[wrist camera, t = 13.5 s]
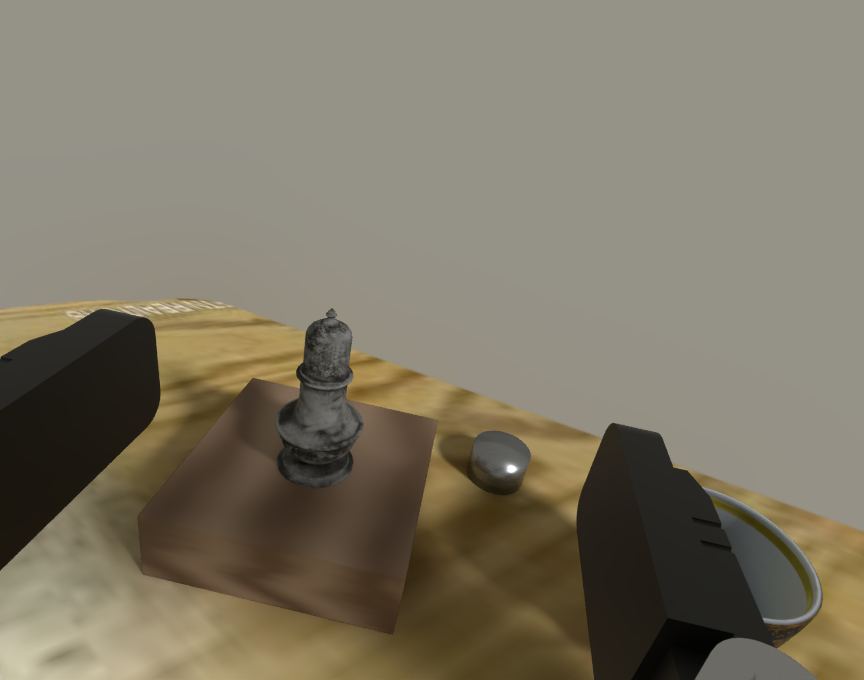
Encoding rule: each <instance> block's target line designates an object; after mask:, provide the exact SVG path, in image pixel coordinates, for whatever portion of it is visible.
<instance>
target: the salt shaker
mask: <svg viewBox="0 0 864 680" xmlns="http://www.w3.org/2000/svg"><path fill="white" fill-rule="evenodd" d="M326 316H328V318H325V319H321V320H318V321H315V322H313V323H312V324H311V325H310V326H309V327H308V329H307V331H306V337H305V349H304V360H303V363H302V364H301V365H300V366H298V368H297V370H296V374H297V377H298V379H299V380H300V381H301V382H300V394H299V398H298V399H295V400H292V401H290V402H288V403H287V404H285V405H284V406H283V407H282V408H281V409H280V410H279V411H278V413H277V415H276V417H275V427H276V429H277V431H278V433H279V434H280V438H281V440H282V442H283V444H284V447H283V448H282V449H281V450H280V452H279V454H278V457H277V466H278V469H279V471H280V473H281V474H282V475H283V476H284V477H285V478H286V479H287V480H289V481H290V482H292V483H294V484H296V485H299V486H302V487H308V488H325V487H329V486H333V485H335V484H337V483H340V482H342V481H343V480H344V479H345V478H347V477H348V476H349V474H350V472H351V471H352V468H353V463H354V461H353V456H352V454H351V452H350V451H349V450H350V449H351V448H352V446H353V445H354V443H355V442H356V440H357V439H358V437H359V436H360V435H361V433H362V430H363V425H364V423H363V419H362V416H361V415H360V413H359V412H358V410H356V409H355V408H354V407H353V406H352V405H350V404H348V403H346V392H347V385H348V384H349V383H350V382H351V381H352V379H353V371H352V370H351V368H350V367H349V360H350V352H351V344H352V332H351V330H350V329H349V327H348V326H347V325H346V324H345V323H343V322H341V321H339V320H336V319H335V317H336V316H337V314H336V313H335V311H334V309H331V310H329V311H328V312H327V313H326Z"/></svg>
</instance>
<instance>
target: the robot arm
mask: <svg viewBox="0 0 864 680" xmlns="http://www.w3.org/2000/svg"><path fill="white" fill-rule="evenodd" d="M159 402H160V381H159V370H158V358H157V347H156V336H155V329H154V326H153V324H152V322H151V321H150V320H149V319H147V318H144V317H139V316H135V315H130V314H126V313H121V312H117V311H112V310H108V309H100V310H97V311H95V312H93V313H91V314H90V315H88V316H86V317H85V318H83V319H81V320H79V321H78V322H76V323H74V324H73V325H71V326H69V327H68V328H66V329H64V330H61V331H58V332H55V333H52V334H48V335H45V336H42V337H39V338H36V339H33V340H29V341H28V342H26V343H24V344H22V345H21V346H19V347H17V348H15V349H13V350H12V351H10V352H8V353H6V354H5V355H3V356H1V359H0V570H1V569H2V568H3V567H4V566H6V565H7V564H8V563H9V562H10V561H11V560H12V559H13V558H14V557H15V556H16V555H17V554H18V553H19V552H20V551H21V550H22V549H23V548H24V547H25V546H26V545H27V544H28V543H29V542H30V541H31V540H32V539H33V538H34V537H35V536H36V535H37V534H38V533H39V532H40V531H41V530H42V529H43V528H44V527H45V526H46V525H47V524H48V523H50V522H51V521H52V520H53V519H54V518H55V517H56V516H57V515H58V514H59V513H60V512H61V511H62V510H63V509H64V508H65V507H66V506H67V505H68V504H69V503H70V502H71V501H72V500H73V499H74V498H75V497H76V496H77V495H78V494H79V493H80V492H81V491H82V490H83V489H84V488H85V487H86V486H87V485H88V484H89V483H90V482H91V481H92V480H94V479H95V478H96V477H97V476H98V475H99V474H100V473H101V472H102V471H103V470H104V469H105V468H106V467H107V466H108V465H109V464H110V463H111V462H112V461H113V460H114V459H115V458H116V457H117V456H118V455H119V454H120V453H121V452H122V451H123V450H124V449H125V448H126V447H127V446H128V445H129V444H130V443H131V442H132V441H133V440H134V439H135V438H136V437H138V436H139V435H140V434H141V433H142V432H143V431H144V430H145V429H146V428H147V427H148V425H149V424H150V423H151V421H152V420H153V418H154V416H155V414H156V412H157V409H158V406H159ZM721 525H722V523H721V521H720V518H719V516H718V514H717V511H716V509H715V507H714V504H713V502H712V500H711V497H710V496H709V495H708V494H707V492H706V491H705V490H704V489H703V488H702V487H701V486H700V485H699V483H698V482H697V481H696V480H695V479H694V478H693V477H692V476H691V474H690V473H689V472H688V471H687V470H682V469H678V468H673V465H672V463H671V460H670V457H669V455H668V452H667V449H666V447H665V444H664V441H663V439H662V437H661V435H660V434H659V433H656V432H652V431H647V430H642V429H638V428H634V427H629V426H625V425H620V424H615V423H612V424H610V426H609V427H608V428H607V430H606V432H605V434H604V436H603V439H602V441H601V444H600V446H599V449H598V451H597V454H596V456H595V459H594V461H593V464H592V466H591V469H590V471H589V474H588V476H587V479H586V481H585V484H584V486H583V489H582V492H581V495H580V499H579V503H578V509H577V535H578V544H579V553H580V561H581V570H582V578H583V587H584V595H585V604H586V613H587V621H588V630H589V638H590V647H591V655H592V664H593V673H594V680H818V679H817V678H816V677H815V676H814V675H812V674H811V673H810V672H809V671H808V670H807V669H806V668H805V667H803V666H802V665H801V664H800V663H798V662H797V661H796V660H794V659H793V658H791V657H790V656H788V655H787V654H785V653H783V652H782V651H780V650H778V649H776V648H775V646H774V644H773V641H772V639H771V637H770V634H769V632H768V630H767V627H766V625H765V623H764V620H763V618H762V616H761V613H760V611H759V609H758V606H757V604H756V602H755V599H754V597H753V595H752V593H751V590H750V588H749V586H748V583H747V581H746V579H745V576H744V574H743V572H742V569H741V567H740V565H739V562H738V560H737V558H736V555H735V553H732V552H731V549H732V546H731V544H730V542H729V539H728V537H727V535H726V532H725V530H724V529H721Z"/></svg>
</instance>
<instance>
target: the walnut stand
mask: <svg viewBox="0 0 864 680" xmlns="http://www.w3.org/2000/svg"><path fill="white" fill-rule="evenodd" d="M299 394H300V389H299V388H295V387H290V386H286V385H282V384H277V383H273V382H269V381H264V380H260V379H255V378H252V379H251V381H250V382H249V383H248V384H247V385H246V387H245V388H244V389H243V390H242V391H241V393H240V394H239V395H238V396H237V397H236V399H235V400H234V401H233V402H232V403H231V405H230V406H229V407H228V408H227V409H226V411H225V412H224V413H223V414H222V415H221V417H220V418H219V419H218V420H217V421H216V423H215V424H214V425H213V426H212V427H211V429H210V430H209V431H208V432H207V433H206V435H205V436H204V437H203V438H202V439H201V441H200V442H199V443H198V444H197V445H196V447H195V448H194V449H193V450H192V451H191V453H190V454H189V455H188V456H187V457H186V459H185V460H184V461H183V462H182V463H181V465H180V466H179V467H178V468H177V469H176V471H175V472H174V473H173V474H172V475H171V477H170V478H169V479H168V480H167V481H166V483H165V484H164V485H163V486H162V487H161V489H160V490H159V491H158V492H157V493H156V495H155V496H154V497H153V498H152V499H151V501H150V502H149V503H148V504H147V505H146V507H145V508H144V509H143V510H142V511H141V513H140V514H139V515H138V527H139V538H140V549H141V560H142V571H143V574H144V575H149V576H153V577H157V578H161V579H165V580H169V581H173V582H178V583H182V584H186V585H190V586H194V587H198V588H203V589H207V590H211V591H215V592H219V593H223V594H227V595H232V596H236V597H240V598H244V599H248V600H252V601H256V602H261V603H265V604H269V605H273V606H277V607H281V608H286V609H290V610H294V611H298V612H302V613H306V614H310V615H315V616H319V617H323V618H327V619H331V620H335V621H339V622H344V623H348V624H352V625H356V626H360V627H364V628H369V629H373V630H377V631H381V632H385V633H389V634H393V631H394V627H395V623H396V618H397V614H398V610H399V606H400V602H401V597H402V593H403V589H404V585H405V580H406V576H407V571H408V566H409V561H410V556H411V551H412V546H413V541H414V536H415V531H416V526H417V521H418V516H419V511H420V507H421V502H422V497H423V492H424V487H425V482H426V477H427V472H428V467H429V462H430V457H431V452H432V447H433V442H434V437H435V433H436V428H437V423H438V420H435V419H431V418H426V417H422V416H417V415H413V414H409V413H404V412H400V411H396V410H391V409H387V408H382V407H378V406H374V405H369V404H365V403H361V402H356V401H352V400H347V399H346V403H348V404H350V405H352V406H353V407H354V408H355V409H356V410H358V412H359V413H360V415H361V416H362V419H363V423H364V425H363V430H362V433H361V435H360V436H359V437H358V439H357V440H356V442H355V443H354V445H353V446H352V448H351V449H350V450H349V451H350V452H351V454H352V456H353V461H354V463H353V468H352V471H351V472H350V474H349V476H348V477H347V478H345V479H344V480H343V481H342V482H340V483H337V484H335V485H333V486H329V487H325V488H308V487H302V486H299V485H296V484H294V483H292V482H290V481H289V480H287V479H286V478H285V477H284V476H283V475H282V474H281V473H280V471H279V469H278V466H277V457H278V454H279V452H280V450H281V449H282V448H283V447H284V444H283V442H282V440H281V438H280V434H279V433H278V431H277V429H276V427H275V417H276V415H277V413H278V411H279V410H280V409H281V408H282V407H283V406H284V405H285V404H287V403H288V402H290V401H292V400H295V399H298V398H299Z"/></svg>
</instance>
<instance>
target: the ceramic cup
mask: <svg viewBox="0 0 864 680" xmlns="http://www.w3.org/2000/svg"><path fill="white" fill-rule="evenodd" d="M702 488H703V489H704V490H705V491H706V492H707V494H708V495H709V496H710V497H711V500H712V502H713V504H714V507H715V509H716V511H717V514H718V516H719V518H720V521H721V523H722V525H721V529H724V530H725V532H726V535H727V537H728V539H729V542H730V544H731V546H732V549H731V552H732V553H735V555H736V558H737V560H738V562H739V565H740V567H741V569H742V572H743V574H744V576H745V579H746V581H747V583H748V586H749V588H750V590H751V593H752V595H753V597H754V599H755V602H756V604H757V606H758V609H759V611H760V613H761V616H762V618H763V620H764V623H765V625H766V627H767V630H768V632H769V634H770V637H771V639H772V641H773V644H774V646H775V648H776V649H777V648H778V647H780V646H781V645H782V644H784V643H785V642H786V641H788V640H789V639H790V638H792V637H793V636H794V635H796V634H797V633H798V632H800V631H801V630H802V629H803V628H804V627H805V626H806V625H807V624H808V623H810V622H811V621H812V620H813V619H814V618H815V617H816V616H817V614H818V613H819V611H820V608H821V606H822V600H823V594H822V588H821V584H820V581H819V578H818V576H817V573H816V571H815V569H814V568H813V566H812V564H811V563H810V561H809V560H808V558H807V557H806V555H805V554H804V553H803V552H802V550H801V549H800V548H799V547H798V546H797V545H796V544H795V543H794V542H793V541H792V539H791V538H790V537H789V536H788V535H787V534H785V533H784V532H783V531H782V530H781V529H780V528H778V527H777V526H776V525H775V524H774V523H772V522H771V521H770V520H768V519H767V518H766V517H764V516H763V515H761V514H760V513H758V512H757V511H755V510H754V509H752V508H750V507H749V506H747V505H745V504H743V503H741V502H740V501H738V500H736V499H733V498H731V497H729V496H727V495H724V494H722V493H719V492H717V491H714V490H711V489H707V488H704V487H702Z"/></svg>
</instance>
